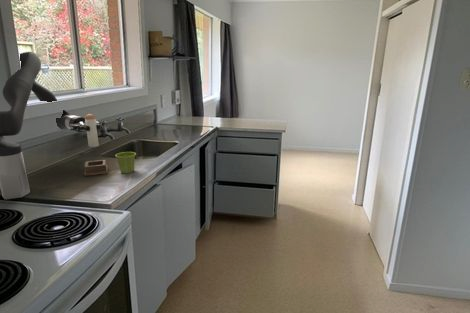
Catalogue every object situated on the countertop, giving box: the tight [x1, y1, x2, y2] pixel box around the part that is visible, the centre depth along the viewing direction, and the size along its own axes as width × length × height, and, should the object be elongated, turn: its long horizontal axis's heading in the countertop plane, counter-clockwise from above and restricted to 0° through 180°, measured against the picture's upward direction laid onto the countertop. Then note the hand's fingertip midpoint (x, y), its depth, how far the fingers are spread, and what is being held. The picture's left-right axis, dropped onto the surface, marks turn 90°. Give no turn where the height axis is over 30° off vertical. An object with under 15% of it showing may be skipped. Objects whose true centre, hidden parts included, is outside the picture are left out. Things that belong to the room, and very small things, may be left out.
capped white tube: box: [84, 113, 100, 148], centre depth 148 cm, size 4×4×15 cm
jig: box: [84, 159, 108, 176], centre depth 153 cm, size 10×10×4 cm
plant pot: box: [115, 151, 137, 174], centre depth 152 cm, size 9×9×9 cm
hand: (94, 127), depth 146 cm, fingers closed on capped white tube, 4 cm apart
